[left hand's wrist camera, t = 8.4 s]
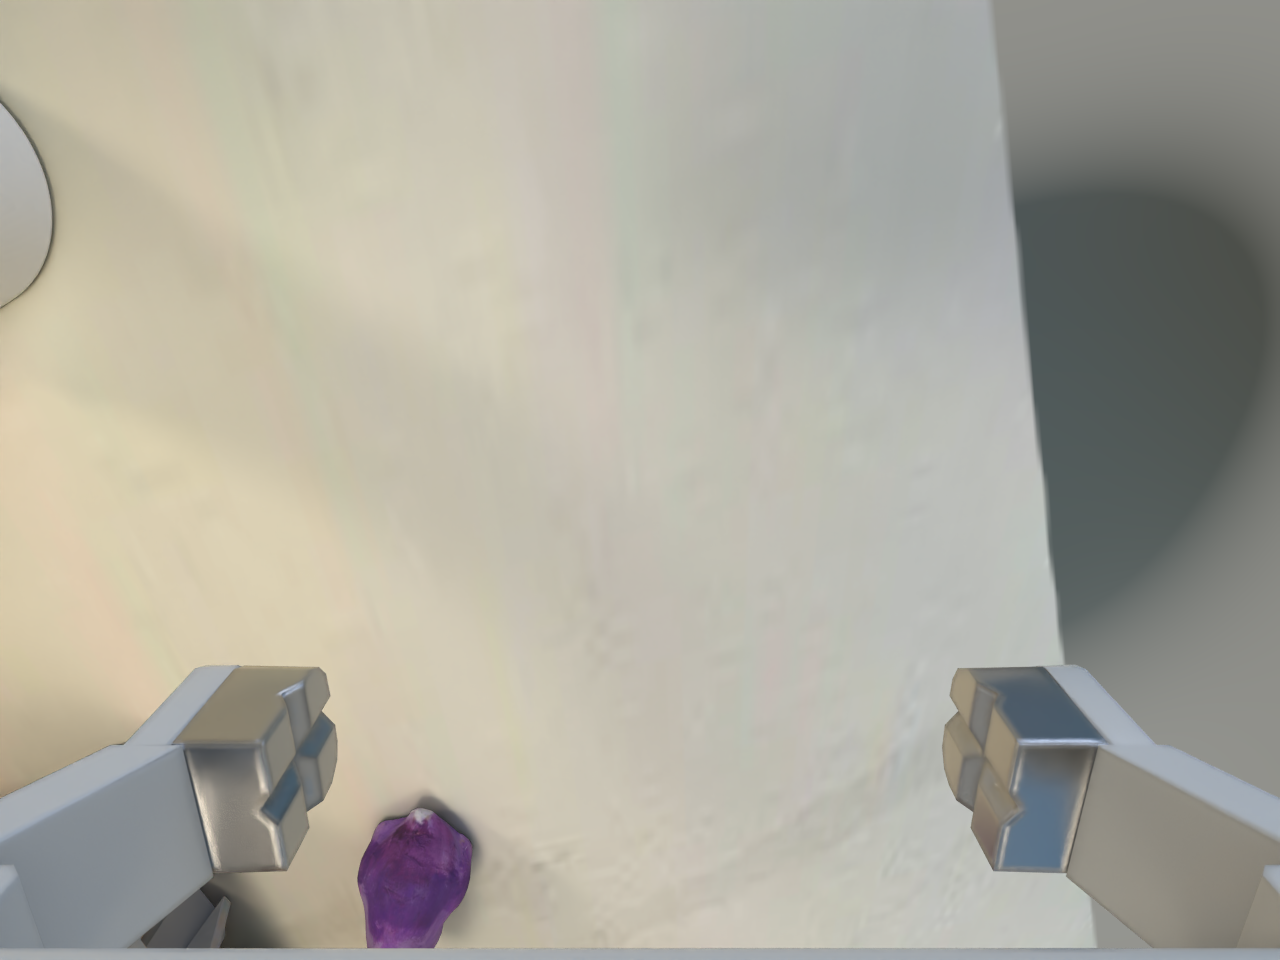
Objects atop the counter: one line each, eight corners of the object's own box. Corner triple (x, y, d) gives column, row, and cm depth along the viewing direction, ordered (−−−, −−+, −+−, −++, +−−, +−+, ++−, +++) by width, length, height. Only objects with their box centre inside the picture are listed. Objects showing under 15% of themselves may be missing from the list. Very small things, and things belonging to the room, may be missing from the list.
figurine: (429, 920, 66) (372, 1119, 52) (340, 846, 63) (254, 1035, 49) (514, 866, 64) (478, 1058, 50) (425, 786, 61) (361, 966, 47)
